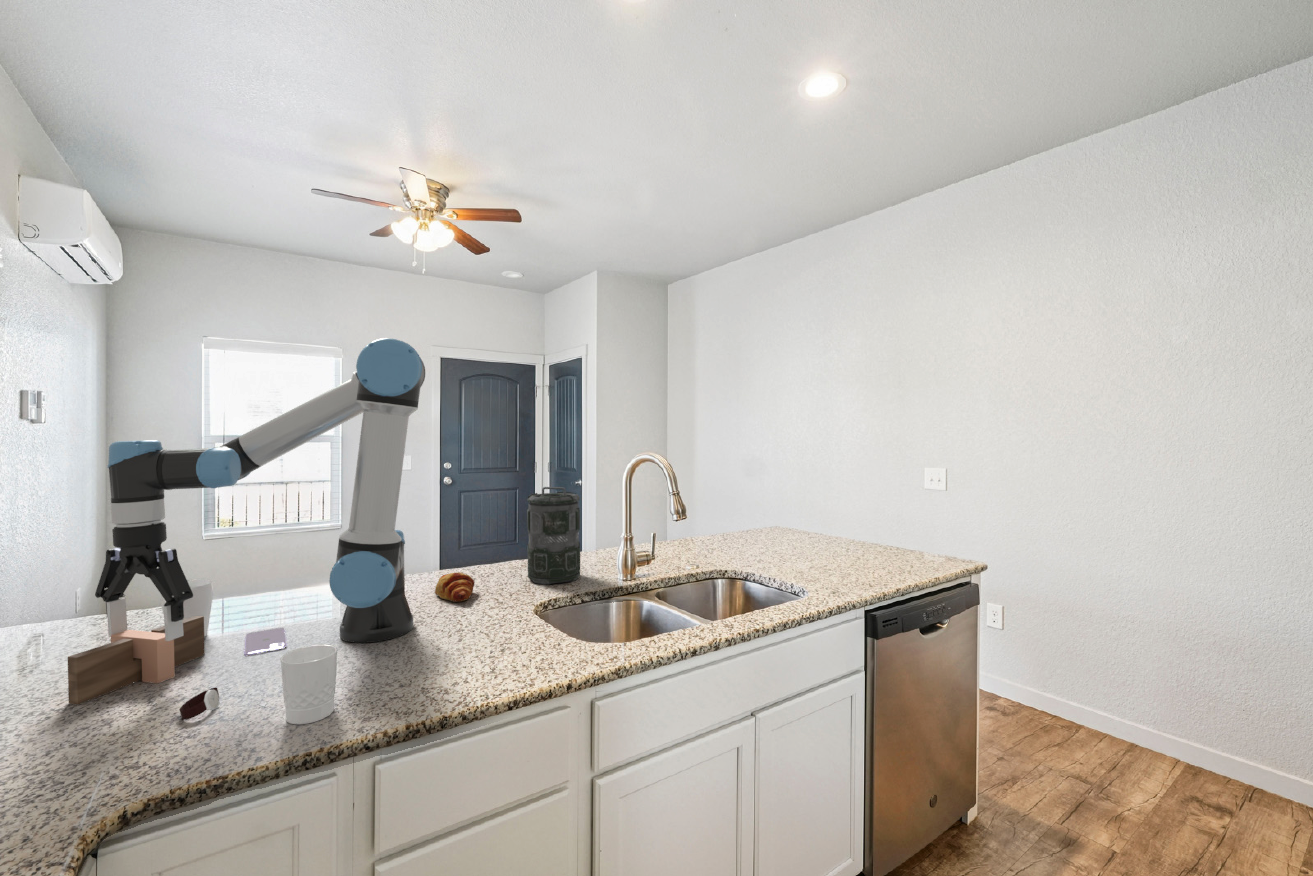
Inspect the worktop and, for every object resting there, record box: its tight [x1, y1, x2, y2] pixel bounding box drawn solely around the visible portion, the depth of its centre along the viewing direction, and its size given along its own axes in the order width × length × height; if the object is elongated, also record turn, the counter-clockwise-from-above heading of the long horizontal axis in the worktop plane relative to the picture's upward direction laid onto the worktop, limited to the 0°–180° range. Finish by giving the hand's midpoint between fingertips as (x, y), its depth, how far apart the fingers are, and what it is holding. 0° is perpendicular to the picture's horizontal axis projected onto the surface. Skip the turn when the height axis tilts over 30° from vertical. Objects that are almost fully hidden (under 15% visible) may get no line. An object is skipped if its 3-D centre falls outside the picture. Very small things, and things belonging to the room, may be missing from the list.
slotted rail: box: [67, 616, 206, 706], centre depth 110 cm, size 2×22×8 cm, turn 167°
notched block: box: [110, 629, 176, 684], centre depth 110 cm, size 11×3×8 cm, turn 77°
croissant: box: [434, 572, 475, 603], centre depth 163 cm, size 21×10×8 cm, turn 32°
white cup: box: [280, 644, 338, 725], centre depth 96 cm, size 8×8×10 cm
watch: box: [178, 687, 220, 721], centre depth 98 cm, size 8×5×4 cm, turn 13°
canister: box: [526, 486, 581, 586], centre depth 180 cm, size 16×16×28 cm
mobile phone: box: [243, 627, 288, 656], centre depth 128 cm, size 8×1×15 cm
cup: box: [160, 578, 214, 638], centre depth 131 cm, size 9×9×12 cm
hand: (146, 636), depth 111 cm, fingers open, 13 cm apart
